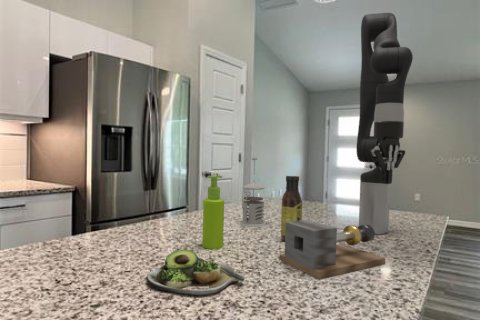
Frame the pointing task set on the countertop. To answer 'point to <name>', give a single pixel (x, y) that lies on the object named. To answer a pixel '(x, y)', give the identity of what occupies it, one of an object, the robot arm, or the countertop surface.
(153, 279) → the salad plate
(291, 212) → the sauce bottle
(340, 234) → the shaft
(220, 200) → the soap dispenser
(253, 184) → the french press
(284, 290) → the countertop surface
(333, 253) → the bearing block
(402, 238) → the countertop surface
